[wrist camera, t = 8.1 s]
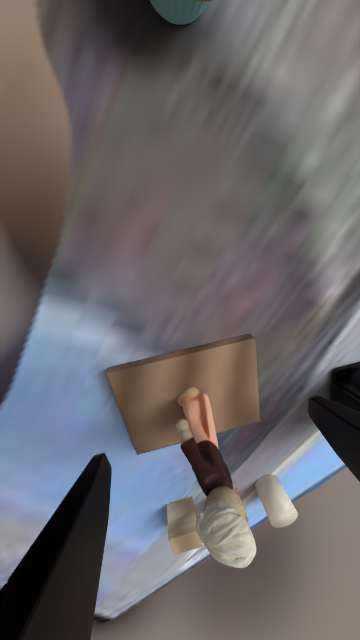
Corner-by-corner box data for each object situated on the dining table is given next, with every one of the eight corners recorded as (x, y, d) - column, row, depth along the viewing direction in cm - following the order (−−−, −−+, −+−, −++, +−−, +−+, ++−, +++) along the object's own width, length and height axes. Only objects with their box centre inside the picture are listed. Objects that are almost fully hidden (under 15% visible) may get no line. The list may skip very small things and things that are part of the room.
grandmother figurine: (225, 406, 23) (301, 564, 11) (201, 426, 24) (251, 597, 12) (181, 369, 21) (220, 522, 9) (156, 392, 21) (162, 566, 9)
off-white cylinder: (277, 471, 31) (298, 505, 27) (278, 487, 32) (297, 522, 28) (253, 478, 30) (270, 514, 26) (255, 494, 32) (271, 530, 28)
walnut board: (249, 333, 22) (254, 338, 21) (255, 414, 26) (260, 421, 25) (108, 367, 21) (106, 373, 20) (137, 445, 25) (137, 454, 24)
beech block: (191, 495, 30) (197, 530, 26) (196, 511, 31) (202, 546, 27) (166, 503, 30) (168, 539, 26) (171, 518, 31) (174, 554, 27)
